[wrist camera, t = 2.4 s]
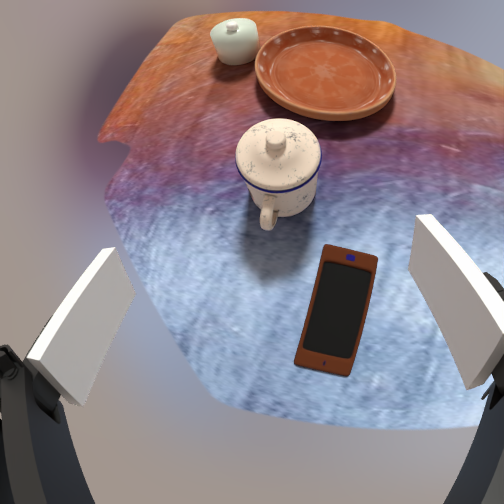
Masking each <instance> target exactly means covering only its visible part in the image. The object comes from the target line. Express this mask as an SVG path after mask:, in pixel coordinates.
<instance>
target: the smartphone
mask: <svg viewBox="0 0 504 504" xmlns="http://www.w3.org/2000/svg"><path fill="white" fill-rule="evenodd" d="M377 262H378V257H377V256H374V255H370V254H366V253H362V252H358V251H354V250H350V249H346V248H342V247H338V246H333V245H329V244H325V245H324V247H323V250H322V255H321V259H320V263H319V268H318V272H317V276H316V280H315V284H314V288H313V292H312V296H311V300H310V304H309V308H308V312H307V316H306V319H305V323H304V327H303V330H302V334H301V338H300V341H299V345H298V348H297V352H296V355H295V359H294V364H296V365H299V366H303V367H307V368H311V369H315V370H320V371H324V372H329V373H333V374H338V375H343V376H349V375H350V373H351V370H352V366H353V363H354V360H355V357H356V353H357V350H358V346H359V343H360V339H361V335H362V331H363V327H364V323H365V319H366V315H367V311H368V307H369V303H370V298H371V293H372V289H373V284H374V279H375V274H376V268H377Z"/></svg>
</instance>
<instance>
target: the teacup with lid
mask: <svg viewBox="0 0 504 504" xmlns="http://www.w3.org/2000/svg"><path fill="white" fill-rule="evenodd" d="M321 159H322V153H321V147H320V144H319V142H318V140H317V138H316V137H315V135H314V134H313V133H312V132H311V131H310V130H309V129H308V128H307V127H305V126H304V125H302V124H300V123H298V122H296V121H293V120H289V119H270V120H266V121H262V122H260V123H258V124H256V125H254V126H253V127H251V128H250V129H249V130H248V131H247V132H246V133H245V134H244V135H243V136H242V138H241V139H240V141H239V143H238V145H237V149H236V154H235V162H236V166H237V169H238V172H239V173H240V175H241V177H242V178H243V179H244V180H245V182H246V185H247V187H248V190H249V192H250V194H251V197H252V199H253V201H254V203H255V204H256V205H257V206H258V207H259V208H260V209H261V213H260V225H261V228H262V229H264V230H272V229H273V228H274V226H275V224H276V221H277V217H287V216H292V215H295V214H298V213H300V212H302V211H303V210H304V209H306V208H307V207H308V206H309V204H310V203H311V202H312V200H313V198H314V196H315V192H316V185H317V176H318V170H319V167H320V164H321Z"/></svg>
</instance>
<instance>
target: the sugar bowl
mask: <svg viewBox="0 0 504 504" xmlns="http://www.w3.org/2000/svg"><path fill="white" fill-rule="evenodd" d="M210 35H211V38H212V41H213V44H214V46H215V49H216V52H217V55H218V58H219V60H220V61H221V62H222V63H224V64H227V65H242V64H246V63H249V62H251V61H253V60H254V59H256V56H257V54H258V52H259V50H260V49H261V48H260V43H259V38H258V33H257V28H256V24H255V23H254V22H253V21H252V20H249V19H244V18H236V19H230V20H226V21H224V22H221V23H219V24H218V25H216V26H215V27H214V28H213V29H212V30H211V33H210Z"/></svg>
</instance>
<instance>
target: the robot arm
mask: <svg viewBox="0 0 504 504" xmlns="http://www.w3.org/2000/svg"><path fill="white" fill-rule="evenodd" d="M408 270H409V272H410V274H411V275H412V277H413V279H414V281H415V282H416V284H417V286H418V288H419V290H420V291H421V293H422V295H423V297H424V299H425V301H426V302H427V304H428V306H429V308H430V310H431V312H432V314H433V316H434V318H435V320H436V322H437V324H438V326H439V328H440V330H441V332H442V334H443V336H444V338H445V341H446V343H447V345H448V347H449V349H450V352H451V354H452V356H453V358H454V361H455V363H456V365H457V368H458V370H459V373H460V375H461V377H462V380H463V382H464V385H465V388H466V390H469V389H472V388H475V387H477V386H480V385H482V384H484V383H485V381H486V380H487V379H488V377H489V376H490V375H491V374H492V376H493V378H494V381H493V383H492V384H491V385H490V387H489V388H488V389H487V391H486V392H485V393H484V394H483V396H482V398H481V399H482V400H484V399H485V397H486V396H487V395H488V394H489V395H488V398H487V402H486V405H485V408H484V412H483V415H482V418H481V421H480V424H479V427H478V429H477V432H476V435H475V438H474V440H473V443H472V445H471V448H470V450H469V453H468V455H467V457H466V460H465V462H464V464H463V466H462V469H461V471H460V473H459V475H458V477H457V479H456V481H455V483H454V485H453V487H452V489H451V491H450V492H449V494H448V496H447V498H446V500H445V502H444V503H443V504H504V288H503V287H502V286H501V284H500V283H499V282H498V281H497V280H496V279H495V278H494V277H492V276H491V275H490V274H488V273H487V272H485V273H482V272H481V271H480V269H479V268H478V267H477V266H476V264H475V263H474V262H473V261H472V259H471V258H470V257H469V256H468V255H467V253H466V252H465V251H464V250H463V249H462V248H461V246H460V245H459V244H458V243H457V242H456V241H455V240H454V238H453V237H452V236H451V235H450V234H449V233H448V232H447V231H446V230H445V229H444V227H443V226H442V225H441V224H440V223H439V222H438V221H437V220H436V219H435V218H434V217H433V216H432V215H431V214H428V215H416V219H415V228H414V235H413V242H412V249H411V255H410V261H409V267H408ZM135 295H136V293H135V291H134V288H133V286H132V284H131V282H130V280H129V277H128V275H127V273H126V271H125V268H124V266H123V264H122V261H121V259H120V257H119V254H118V252H117V250H116V248H106V249H102V251H101V252H100V253H99V254H98V256H97V257H96V258H95V259H94V261H93V262H92V263H91V264H90V266H89V267H88V268H87V270H86V271H85V272H84V273H83V275H82V276H81V277H80V279H79V280H78V281H77V283H76V284H75V285H74V287H73V288H72V289H71V291H70V292H69V294H68V295H67V297H66V298H65V299H64V301H63V302H62V304H61V305H60V306H59V308H58V309H57V311H56V312H55V314H54V315H52V317H51V318H50V319H49V320H48V322H47V323H46V325H45V326H44V327H45V328H43V330H42V331H41V333H40V336H38V337H37V339H36V340H35V342H34V344H33V345H32V347H31V349H30V350H29V352H28V353H27V355H26V357H25V359H24V360H23V362H22V361H21V360H20V358H19V357H18V356H17V355H16V354H15V353H14V351H13V350H12V349H11V348H10V346H9V345H2V346H0V412H1V414H2V420H1V419H0V504H95V502H94V500H93V498H92V495H91V493H90V490H89V488H88V485H87V483H86V481H85V478H84V475H83V472H82V470H81V467H80V464H79V461H78V458H77V455H76V452H75V449H74V446H73V442H72V439H71V435H70V432H69V428H68V424H67V420H66V416H65V412H64V408H63V405H62V403H61V402H60V401H59V398H60V395H62V396H63V397H64V398H65V399H66V400H67V401H68V402H69V403H70V404H74V405H78V406H82V407H83V406H84V404H85V402H86V399H87V397H88V395H89V392H90V390H91V387H92V385H93V383H94V380H95V378H96V376H97V373H98V371H99V369H100V367H101V365H102V362H103V360H104V358H105V356H106V354H107V352H108V349H109V347H110V345H111V343H112V341H113V339H114V337H115V335H116V333H117V330H118V329H119V327H120V325H121V323H122V321H123V319H124V316H125V315H126V313H127V311H128V309H129V307H130V305H131V303H132V301H133V299H134V297H135Z"/></svg>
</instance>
